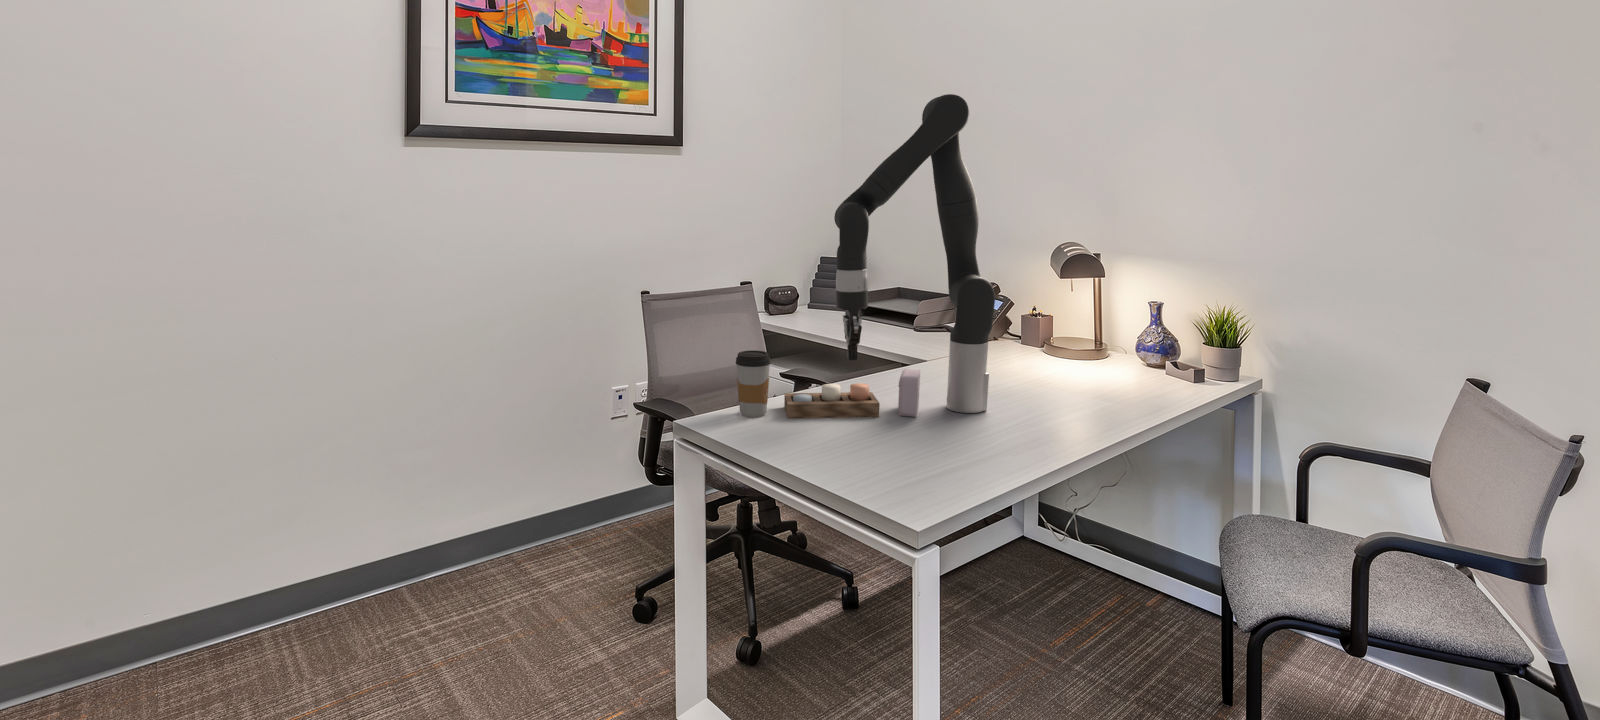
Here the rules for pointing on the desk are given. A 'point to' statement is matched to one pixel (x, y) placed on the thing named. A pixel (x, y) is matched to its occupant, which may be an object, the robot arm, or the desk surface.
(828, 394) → the cream key
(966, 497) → the desk surface
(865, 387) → the pink rounded block
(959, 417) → the desk surface
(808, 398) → the light blue rounded block
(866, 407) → the brown wooden tray
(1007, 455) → the desk surface
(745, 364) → the coffee cup
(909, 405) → the electronic device
